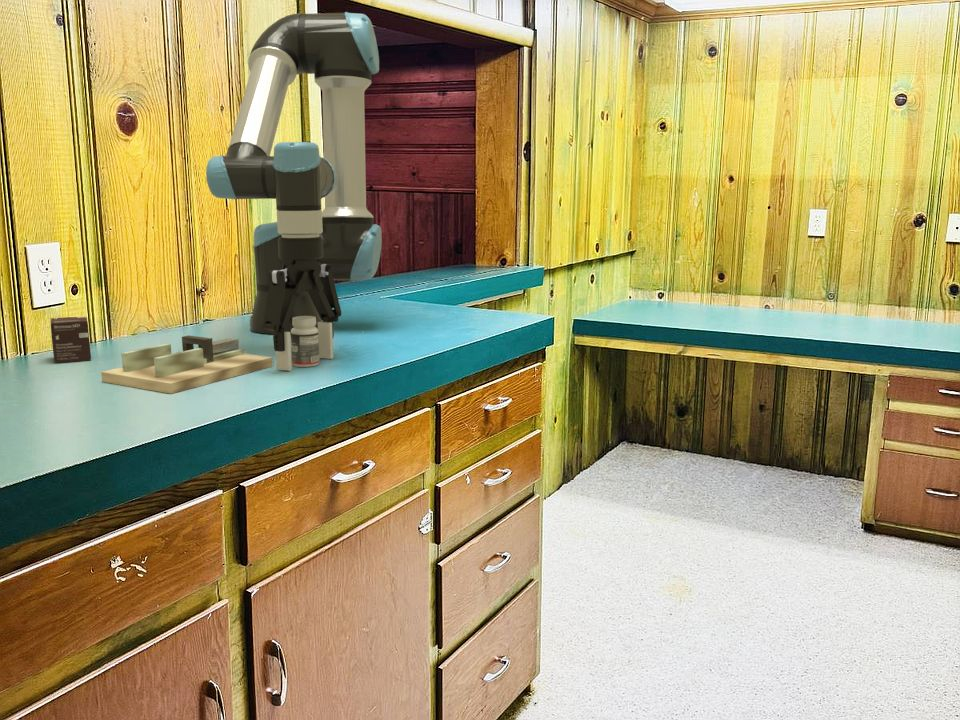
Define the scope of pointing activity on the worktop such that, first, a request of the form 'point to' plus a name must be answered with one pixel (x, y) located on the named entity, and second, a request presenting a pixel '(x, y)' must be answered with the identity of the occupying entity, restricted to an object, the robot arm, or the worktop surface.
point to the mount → (182, 366)
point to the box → (70, 339)
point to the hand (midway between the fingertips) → (305, 363)
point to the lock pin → (224, 345)
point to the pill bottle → (304, 342)
